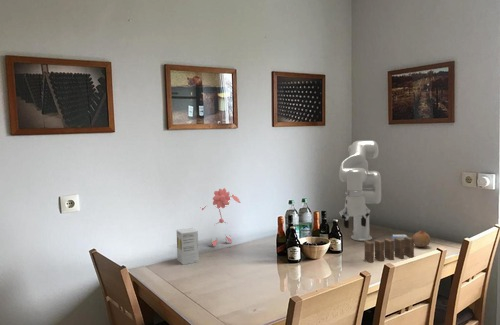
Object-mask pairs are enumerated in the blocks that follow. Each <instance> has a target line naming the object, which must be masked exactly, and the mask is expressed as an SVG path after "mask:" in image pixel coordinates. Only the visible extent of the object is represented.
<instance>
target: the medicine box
mask: <svg viewBox="0 0 500 325" xmlns="http://www.w3.org/2000/svg"><path fill="white" fill-rule="evenodd" d="M404 237H408V235H407V234H391V240H393V241H394V238H401V239H403V240H404Z"/></svg>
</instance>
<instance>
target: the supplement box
mask: <svg viewBox="0 0 500 325" xmlns="http://www.w3.org/2000/svg"><path fill="white" fill-rule="evenodd" d="M176 251H177V252H176V256H177V259H176V260H177V261H178V262H179V263H180V264H182V265H187V264H193V263H199V262H200V261H199V260H200V259H199V232H198V230H196V229H194V228H193V227H190V228H182V229H177V230H176Z"/></svg>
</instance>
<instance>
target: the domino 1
mask: <svg viewBox="0 0 500 325" xmlns="http://www.w3.org/2000/svg"><path fill="white" fill-rule="evenodd" d="M364 261H366V262H368V263H369V264H370V263H375V242H373V241H371V240H368V241H364Z"/></svg>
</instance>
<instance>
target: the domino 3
mask: <svg viewBox="0 0 500 325" xmlns="http://www.w3.org/2000/svg"><path fill="white" fill-rule="evenodd" d="M383 242H384V259H386V260H389V261H394V260H395V256H394V241H393V240H392V238H391V239H390V238H384V240H383Z"/></svg>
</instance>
